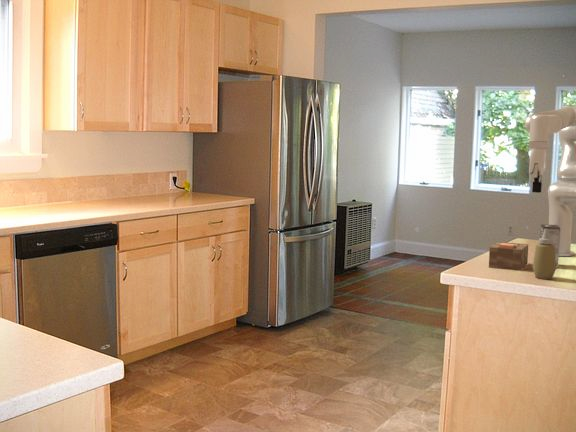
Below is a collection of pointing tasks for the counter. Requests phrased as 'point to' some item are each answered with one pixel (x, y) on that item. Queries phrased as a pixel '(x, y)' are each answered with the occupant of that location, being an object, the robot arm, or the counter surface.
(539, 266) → the squeeze bottle
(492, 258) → the plug console
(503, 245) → the terracotta plug
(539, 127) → the robot arm
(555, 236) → the coffee box
